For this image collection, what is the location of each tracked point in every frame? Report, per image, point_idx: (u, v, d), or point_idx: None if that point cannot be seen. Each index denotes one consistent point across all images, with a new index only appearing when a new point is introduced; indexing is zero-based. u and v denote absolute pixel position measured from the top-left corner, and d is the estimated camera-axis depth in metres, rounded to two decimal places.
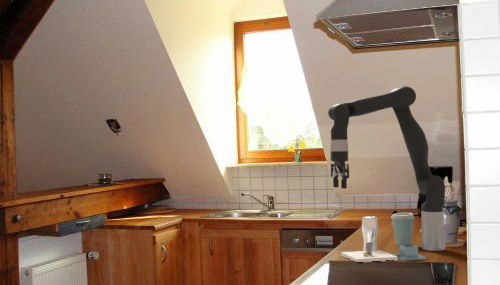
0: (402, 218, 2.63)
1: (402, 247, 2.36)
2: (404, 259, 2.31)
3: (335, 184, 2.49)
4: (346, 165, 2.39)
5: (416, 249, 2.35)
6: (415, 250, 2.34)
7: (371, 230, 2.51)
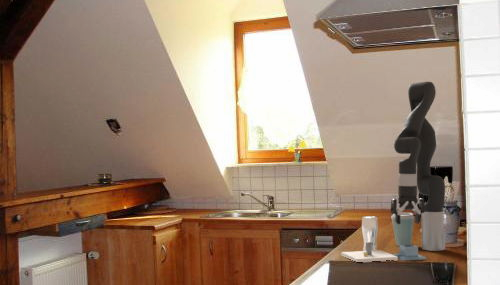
0: (402, 218, 2.63)
1: (402, 247, 2.36)
2: (404, 259, 2.31)
3: None
4: None
5: (416, 249, 2.35)
6: (415, 250, 2.34)
7: (371, 230, 2.51)
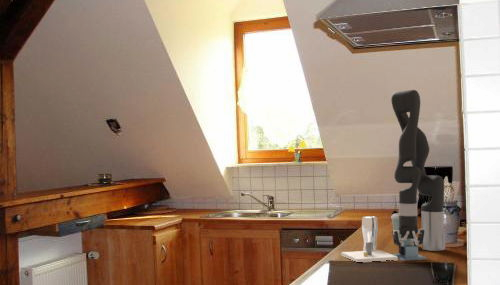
0: None
1: None
2: (404, 259, 2.31)
3: None
4: None
5: (416, 249, 2.35)
6: (415, 250, 2.34)
7: (371, 230, 2.51)
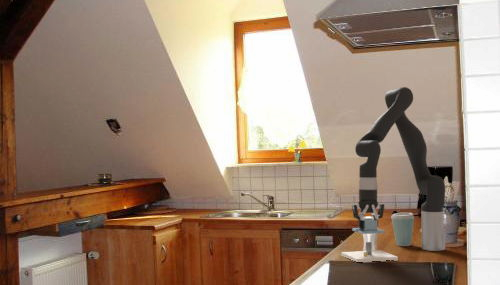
0: (402, 218, 2.63)
1: None
2: (363, 232, 2.31)
3: None
4: None
5: (375, 223, 2.35)
6: (374, 224, 2.35)
7: None
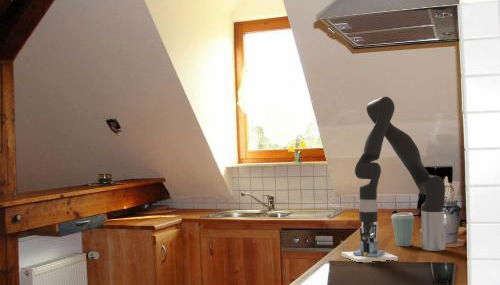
0: (402, 218, 2.63)
1: None
2: (376, 255, 2.31)
3: None
4: None
5: (377, 244, 2.37)
6: (376, 245, 2.37)
7: None
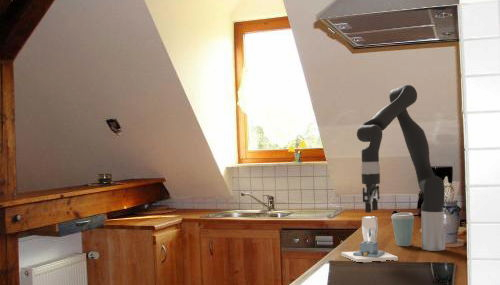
0: (402, 218, 2.63)
1: (366, 244, 2.35)
2: (376, 256, 2.31)
3: None
4: None
5: (377, 245, 2.37)
6: (376, 246, 2.37)
7: (371, 230, 2.51)
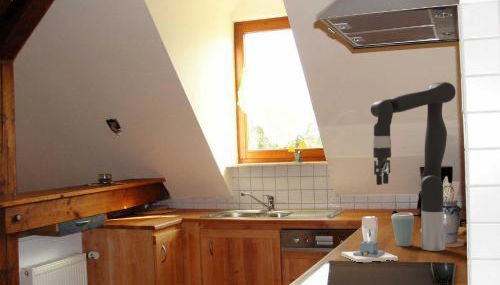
0: (402, 218, 2.63)
1: (366, 244, 2.35)
2: (376, 256, 2.31)
3: None
4: None
5: (377, 245, 2.37)
6: (376, 246, 2.37)
7: (371, 230, 2.51)
